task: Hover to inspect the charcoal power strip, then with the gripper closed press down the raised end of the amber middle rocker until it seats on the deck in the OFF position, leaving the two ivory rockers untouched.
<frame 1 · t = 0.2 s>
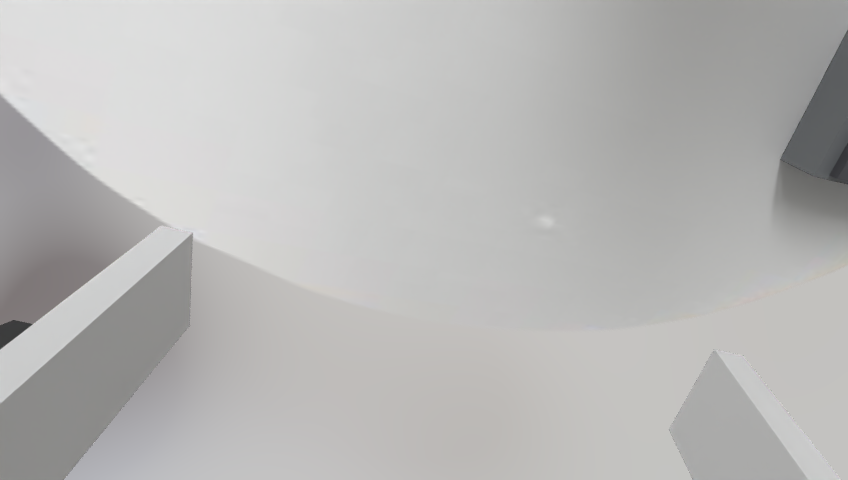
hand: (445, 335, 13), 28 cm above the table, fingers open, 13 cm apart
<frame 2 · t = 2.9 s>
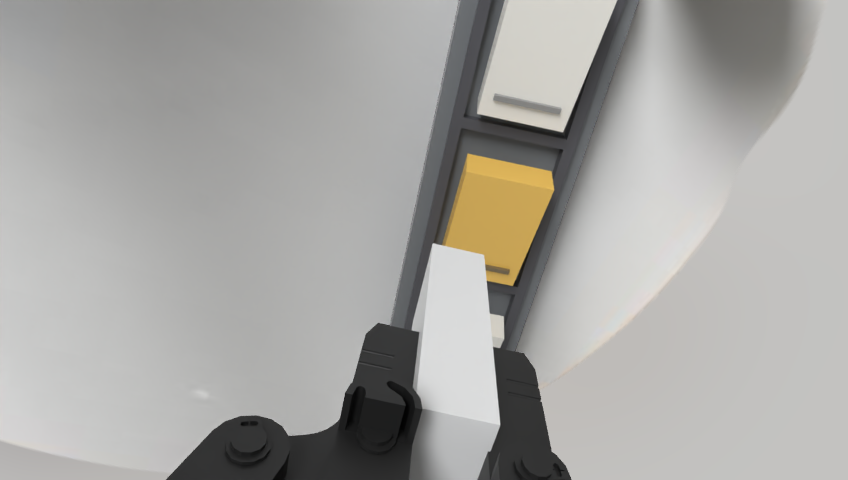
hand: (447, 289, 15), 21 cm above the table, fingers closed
rocker 1: (453, 356, 36), point 6 cm above the table, hinge at 15.0°
rocker 2: (542, 49, 27), point 6 cm above the table, hinge at 15.0°
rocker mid: (491, 224, 31), point 6 cm above the table, hinge at 15.0°
power strip: (486, 185, 36), on the table
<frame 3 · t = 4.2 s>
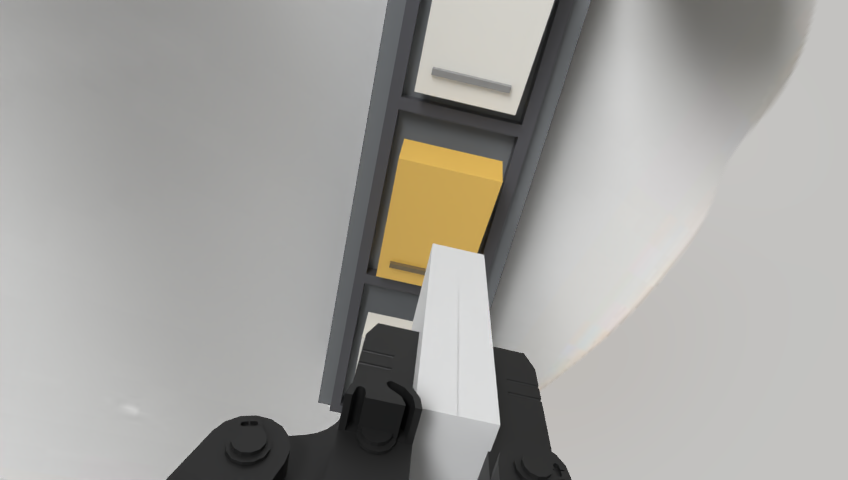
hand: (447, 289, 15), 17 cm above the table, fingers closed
rocker 1: (397, 375, 31), point 6 cm above the table, hinge at 15.0°
rocker 2: (487, 14, 23), point 6 cm above the table, hinge at 15.0°
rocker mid: (435, 223, 27), point 6 cm above the table, hinge at 15.0°
power strip: (439, 180, 32), on the table
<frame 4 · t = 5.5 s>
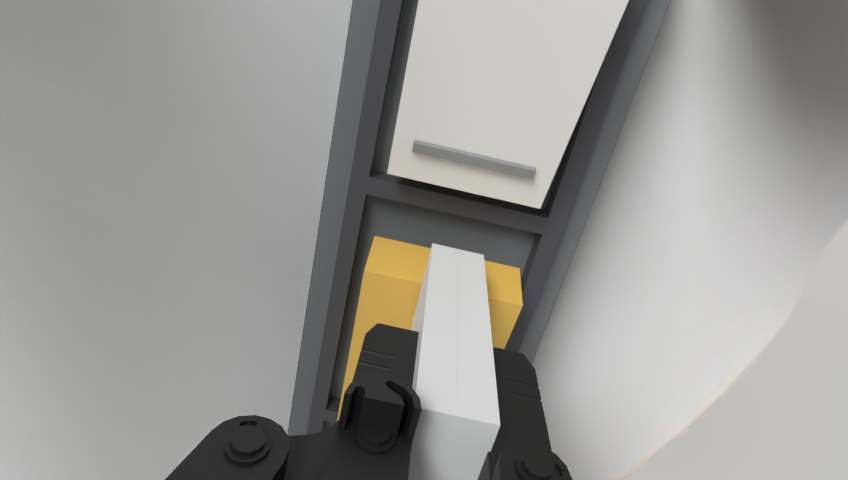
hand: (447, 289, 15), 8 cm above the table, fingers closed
rocker 2: (499, 61, 14), point 6 cm above the table, hinge at 15.0°
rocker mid: (420, 353, 18), point 6 cm above the table, hinge at 10.8°, touching gripper
power strip: (429, 269, 24), on the table
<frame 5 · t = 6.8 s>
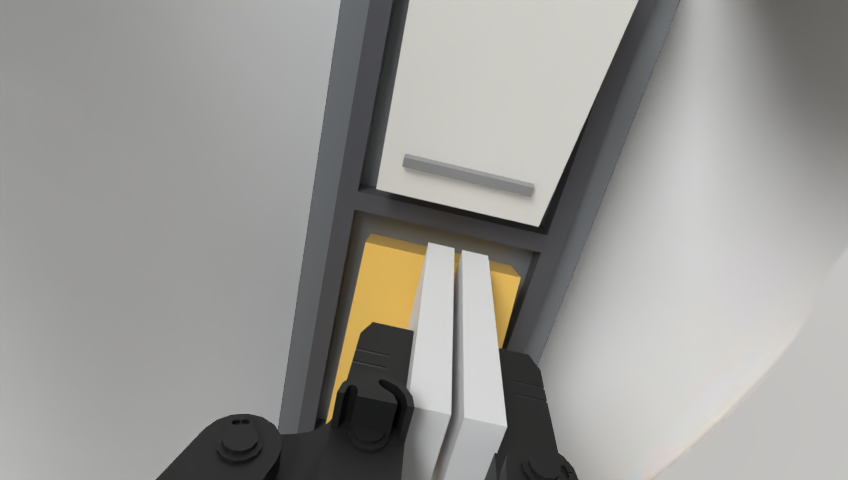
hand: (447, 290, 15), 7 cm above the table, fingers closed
rocker 2: (495, 71, 13), point 6 cm above the table, hinge at 15.0°
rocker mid: (415, 366, 17), point 6 cm above the table, hinge at -15.3°, touching gripper, power strip
power strip: (423, 284, 23), on the table
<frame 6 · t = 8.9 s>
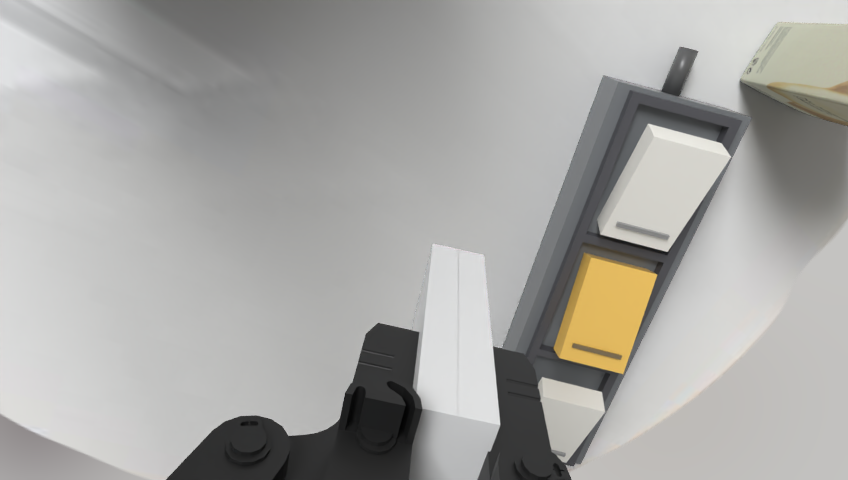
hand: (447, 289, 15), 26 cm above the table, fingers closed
rocker 1: (554, 422, 42), point 6 cm above the table, hinge at 15.0°
skincare box: (793, 70, 37), on the table
rocker 2: (658, 191, 34), point 6 cm above the table, hinge at 15.0°
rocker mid: (603, 313, 38), point 6 cm above the table, hinge at -13.6°
power strip: (585, 278, 44), on the table
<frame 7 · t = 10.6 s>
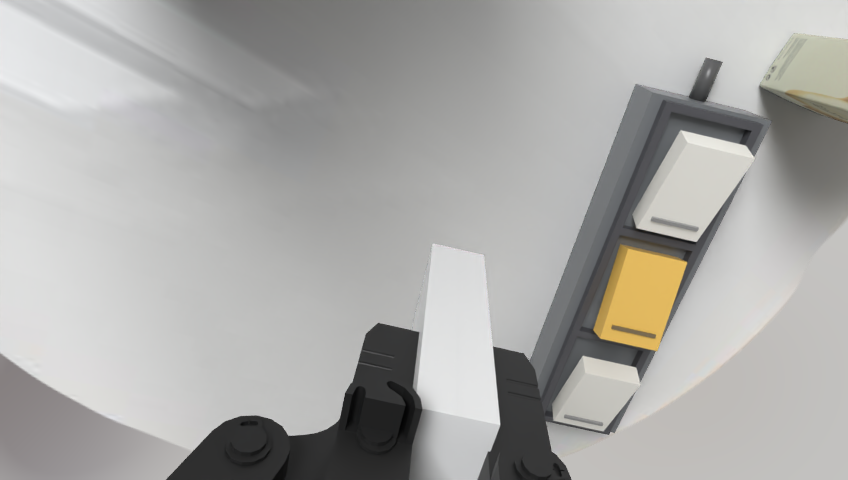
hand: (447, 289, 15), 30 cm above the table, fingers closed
rocker 1: (593, 396, 47), point 6 cm above the table, hinge at 15.0°
skincare box: (808, 75, 41), on the table
rocker 2: (689, 189, 39), point 6 cm above the table, hinge at 15.0°
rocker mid: (639, 297, 43), point 6 cm above the table, hinge at -13.5°
power strip: (617, 266, 48), on the table
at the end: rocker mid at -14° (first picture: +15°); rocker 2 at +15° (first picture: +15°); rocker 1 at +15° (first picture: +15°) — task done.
